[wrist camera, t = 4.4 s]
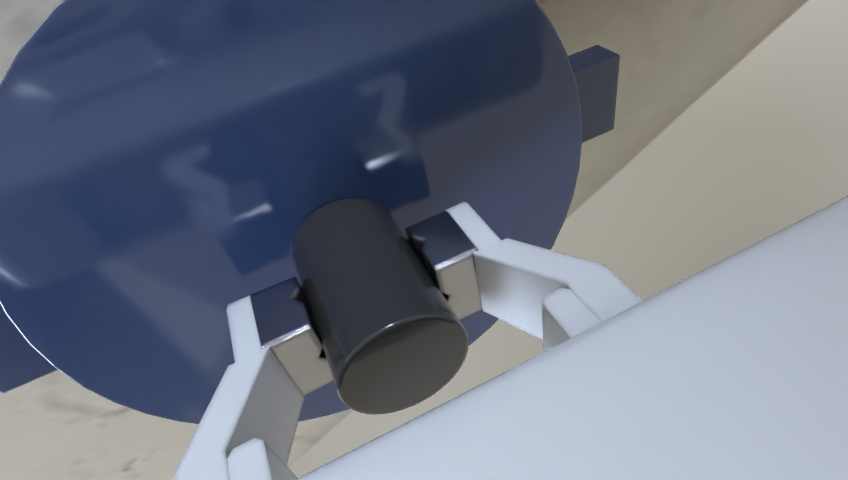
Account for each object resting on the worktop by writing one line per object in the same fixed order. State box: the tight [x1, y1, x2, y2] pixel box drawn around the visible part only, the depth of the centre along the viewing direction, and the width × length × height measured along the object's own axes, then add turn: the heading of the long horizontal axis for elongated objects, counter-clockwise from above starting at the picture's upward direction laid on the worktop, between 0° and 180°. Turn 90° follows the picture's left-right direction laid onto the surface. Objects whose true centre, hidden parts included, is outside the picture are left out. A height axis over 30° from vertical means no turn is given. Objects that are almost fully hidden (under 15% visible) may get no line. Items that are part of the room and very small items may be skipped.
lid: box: [0, 0, 582, 424], centre depth 11 cm, size 14×14×5 cm
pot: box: [0, 45, 620, 393], centre depth 16 cm, size 13×18×10 cm
